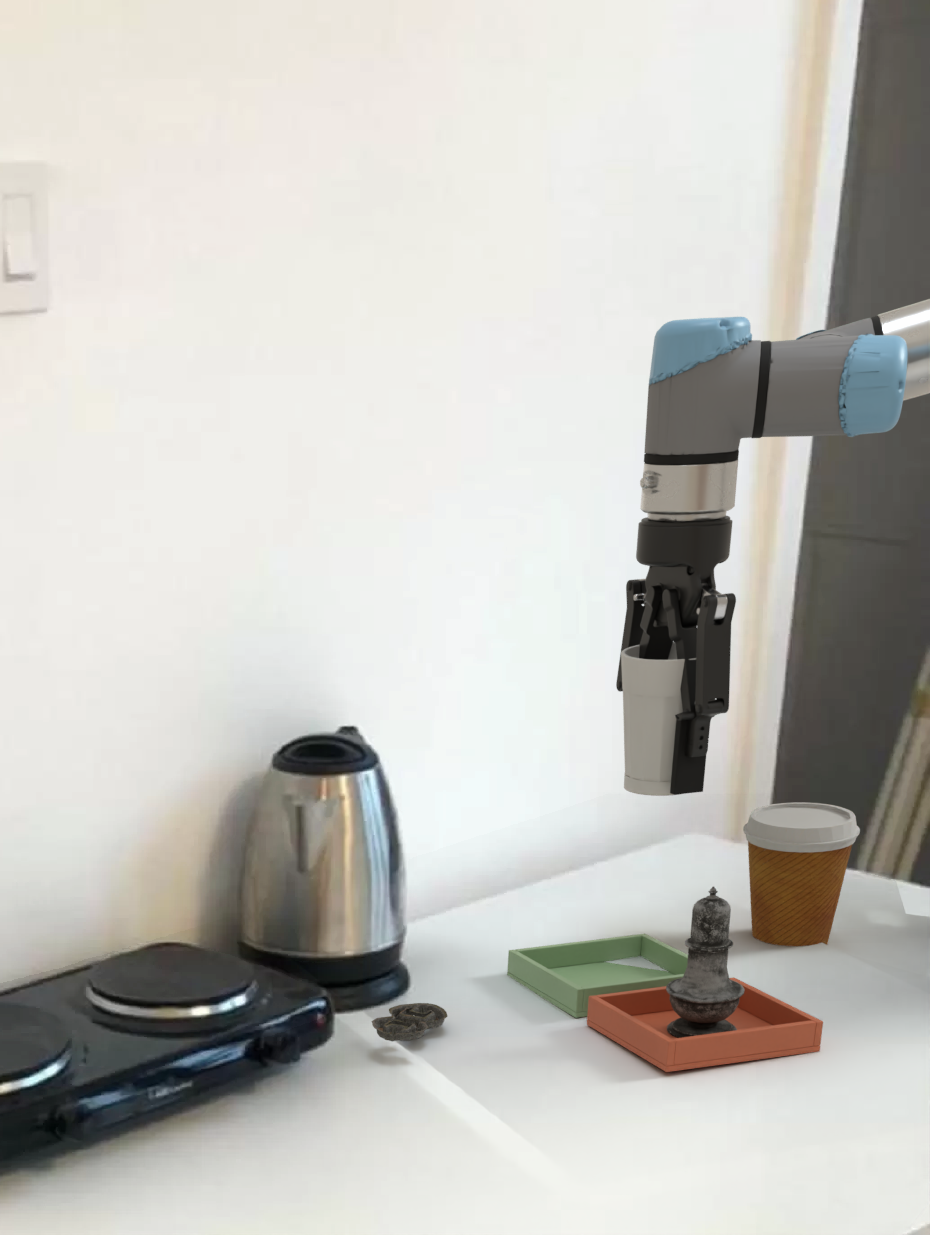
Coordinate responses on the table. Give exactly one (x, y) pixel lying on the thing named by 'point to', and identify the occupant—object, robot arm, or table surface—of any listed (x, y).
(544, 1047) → the table surface
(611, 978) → the green tray
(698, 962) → the salt shaker
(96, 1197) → the table surface
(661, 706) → the cup
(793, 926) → the disposable coffee cup
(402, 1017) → the corroded twin loop
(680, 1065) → the terracotta tray
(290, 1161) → the table surface
